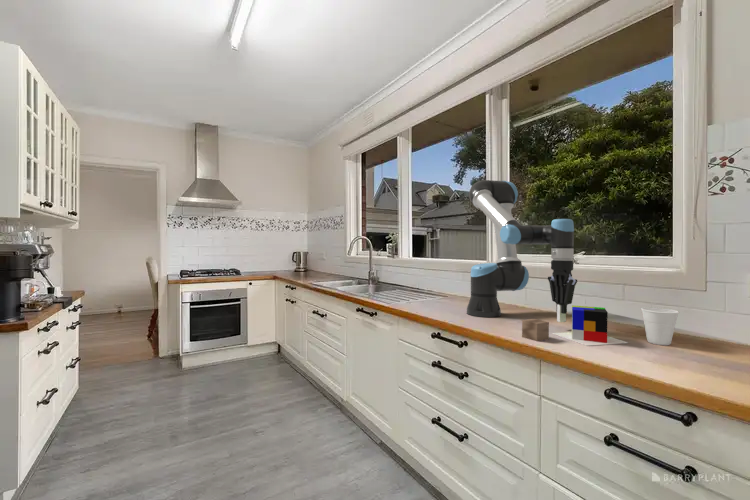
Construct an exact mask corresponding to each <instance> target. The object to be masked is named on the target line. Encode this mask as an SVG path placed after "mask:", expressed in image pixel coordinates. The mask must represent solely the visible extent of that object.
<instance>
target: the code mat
mask: <svg viewBox="0 0 750 500" xmlns="http://www.w3.org/2000/svg"><path fill="white" fill-rule="evenodd" d="M551 334H552V335H554V336H558V337H560V338H563V339H567V340H569V341H571V342H575V343H578V344H581V345H583V346H586V347H593V346H605V345H606V346H608V345H621V344H622V345H623V344H629V342H628V341H624V340H621V339H617V338H616V337H615V338H614V337H610V336H608V335H607V343H603V342H594V341H585V340H576V339H572V331H567V332H565V331H564V332H552V333H551Z"/></svg>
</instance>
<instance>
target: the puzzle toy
mask: <svg viewBox="0 0 750 500" xmlns="http://www.w3.org/2000/svg"><path fill="white" fill-rule="evenodd" d="M571 332H572V339H576V340H585V341H594V342H603V343H607V336H608V311H607V309H606V307H601V306H599V307H597V306H585V305H571Z"/></svg>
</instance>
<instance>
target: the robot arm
mask: <svg viewBox="0 0 750 500" xmlns="http://www.w3.org/2000/svg"><path fill="white" fill-rule="evenodd" d="M518 196H519V192H518V188H517V187H516V185H515V183H513V182H511V181H507V180H494V179H493V180H490V179H489V180H488V179H481V180H478V181H476V182H475V183H473V185H472V186H471V187H470V189H469V192H468V197H469V200H470V202H471V204H472V205H473V207H475V208H478V209H480V211H481V212H483V214H484V215H485V216H486V217H487V218H488V220H490V221H491V222H492V224H493V225H494V234H495V243H496V251H497V252H496V253H497V261H496V262H488V263H486V262H485V263H477V264H474V265H473V266H471V268H470V297H469V299H468V300H469V301H468V302H467V306H466V314H467V315H469V316H473V317H480V318H497V317H500V316H502V314H501V313H502V312H501V311H502V309H501V307H500V304H499V301H498V292H505V291H506V292H507V291H509V292H511V291H512V292H516V291H521V290H523V289H524V288H525V287H526V286H527V285H528V283H529V277H530V275H529V274H530V273H529V269H528V268H527V267H526V266H525V265H522V260H521V259H520V258H518V251H517V245H551V246H550V248H551V251H550V254H551V257H550V259H552V260H551V262H550V270H552V275H550V276H547V280H548V283H549V289H550V295H551V300H552V302H555V305H556V309H555V310H556V322H558V323H566V322H567V313H568V305H571V304H572V303H573V299H574V293H575V288H576V285H577V284H578V279H577V278H576V279H575V278H573V274H572V271H573V270H574V261H573V259H574V253H575V252H574V250H575V249H574V242H575V239H574V237H575V225H574V220H573V219H572V218H556V219H553V220H552V221H551V224H550V225H528V224H527V225H525V224H524V225H522V224H521V223H519V221H518V220H517V219H516V218H514V217H513V215H512V209H513V208H514V207H515V205H514V204H515V203H516V202H517V200H518Z"/></svg>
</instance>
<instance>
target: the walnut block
mask: <svg viewBox="0 0 750 500" xmlns="http://www.w3.org/2000/svg"><path fill="white" fill-rule="evenodd" d="M521 321H522V322H521V337H522V338H524V339H528V340H531V341H534V342H535V341H536V342H542V341H546V340H549V339H550V337H549V335H550V333H549V332H550V321H546V320H542V319H537V318H528V319H523V320H521Z"/></svg>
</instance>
